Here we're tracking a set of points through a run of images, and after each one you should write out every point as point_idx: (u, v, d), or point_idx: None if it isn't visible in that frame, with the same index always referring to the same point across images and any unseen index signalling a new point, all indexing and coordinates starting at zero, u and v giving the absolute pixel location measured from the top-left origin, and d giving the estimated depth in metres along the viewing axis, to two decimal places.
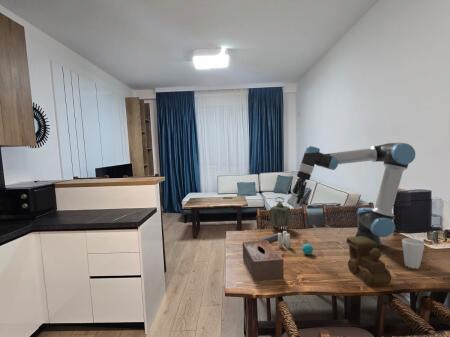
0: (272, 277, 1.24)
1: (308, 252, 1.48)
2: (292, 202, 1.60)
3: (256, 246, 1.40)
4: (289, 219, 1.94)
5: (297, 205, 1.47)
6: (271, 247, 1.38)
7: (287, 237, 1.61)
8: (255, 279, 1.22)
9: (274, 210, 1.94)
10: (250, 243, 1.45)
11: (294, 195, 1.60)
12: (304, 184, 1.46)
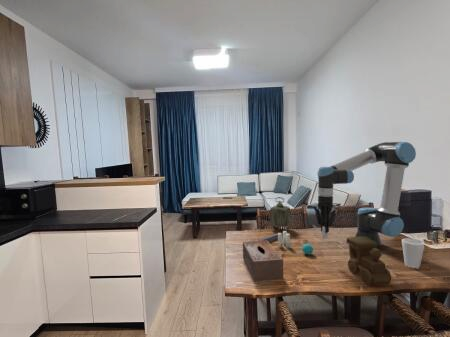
0: (272, 277, 1.24)
1: (308, 252, 1.48)
2: None
3: (256, 246, 1.40)
4: (289, 219, 1.94)
5: (326, 234, 1.41)
6: (271, 247, 1.38)
7: (287, 237, 1.61)
8: (255, 279, 1.22)
9: (274, 210, 1.94)
10: (250, 243, 1.45)
11: None
12: (335, 213, 1.36)
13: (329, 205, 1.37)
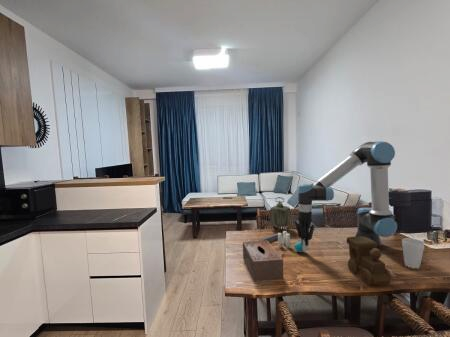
0: (272, 277, 1.24)
1: (300, 247, 1.52)
2: None
3: (256, 246, 1.40)
4: (289, 219, 1.94)
5: (306, 247, 1.52)
6: (271, 247, 1.38)
7: (287, 237, 1.61)
8: (255, 279, 1.22)
9: (274, 210, 1.94)
10: (250, 243, 1.45)
11: None
12: (313, 227, 1.47)
13: (308, 220, 1.48)
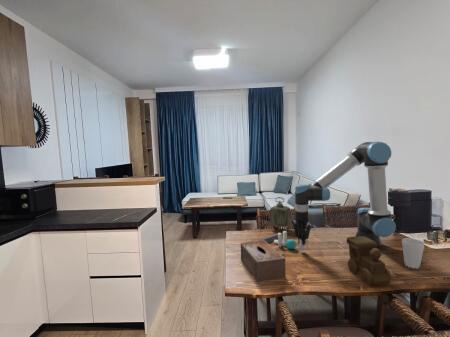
0: (275, 276, 1.24)
1: (286, 242, 1.59)
2: None
3: (255, 246, 1.40)
4: (289, 219, 1.94)
5: (303, 246, 1.54)
6: (270, 247, 1.39)
7: (275, 242, 1.68)
8: (258, 279, 1.22)
9: (274, 210, 1.94)
10: (248, 243, 1.44)
11: None
12: (310, 227, 1.49)
13: (305, 220, 1.50)
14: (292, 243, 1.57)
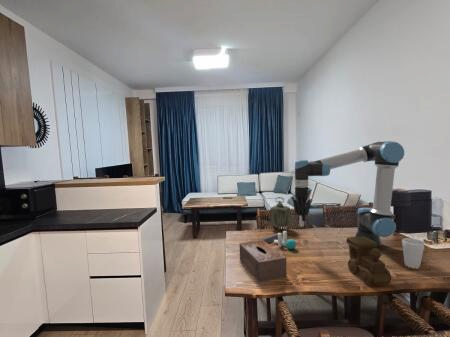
0: (276, 276, 1.24)
1: (286, 242, 1.59)
2: None
3: (255, 246, 1.40)
4: (289, 219, 1.94)
5: (303, 222, 1.53)
6: (270, 246, 1.39)
7: (276, 241, 1.68)
8: (260, 280, 1.22)
9: (274, 210, 1.94)
10: (247, 244, 1.44)
11: None
12: (310, 202, 1.48)
13: (305, 195, 1.49)
14: (292, 243, 1.57)
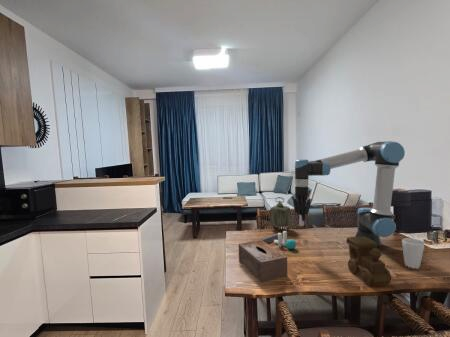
0: (277, 276, 1.25)
1: (286, 242, 1.59)
2: None
3: (254, 246, 1.40)
4: (289, 219, 1.94)
5: (303, 221, 1.53)
6: (269, 246, 1.40)
7: (275, 242, 1.68)
8: (262, 280, 1.22)
9: (274, 210, 1.94)
10: (247, 244, 1.43)
11: None
12: (310, 202, 1.48)
13: (305, 195, 1.49)
14: (292, 243, 1.57)
